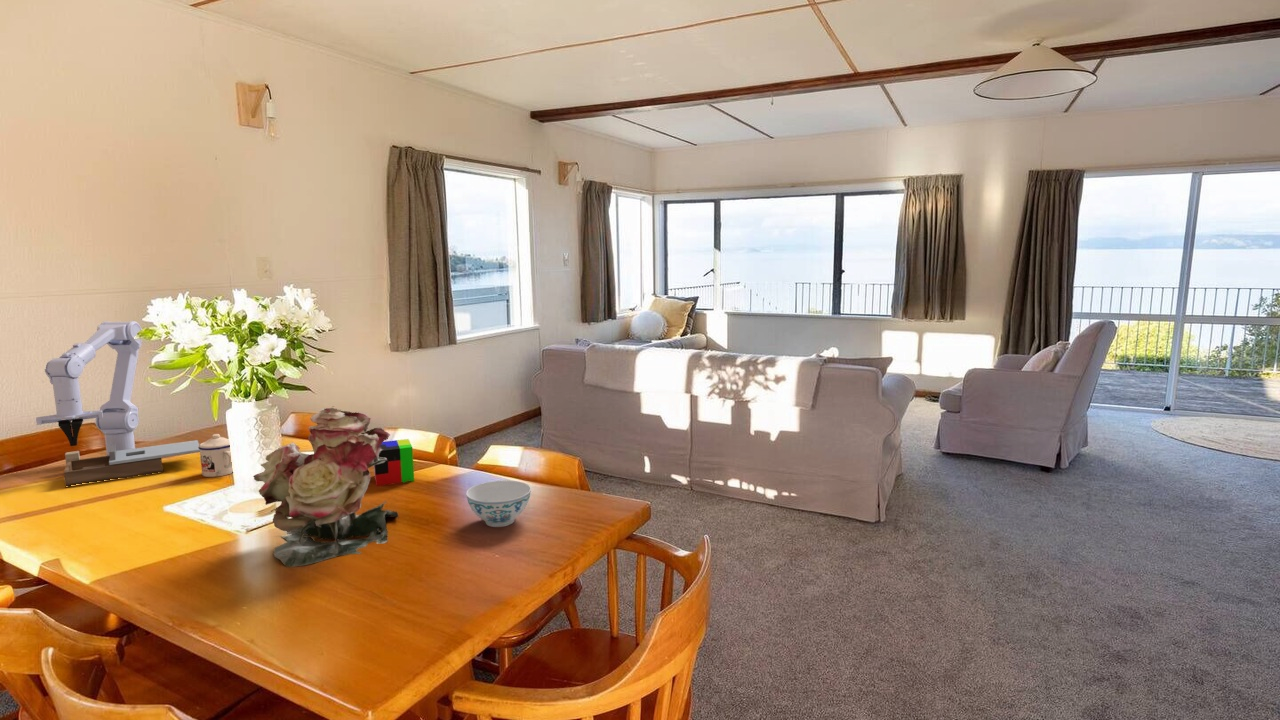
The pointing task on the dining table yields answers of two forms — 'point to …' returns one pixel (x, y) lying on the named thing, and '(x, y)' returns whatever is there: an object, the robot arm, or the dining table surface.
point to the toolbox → (107, 469)
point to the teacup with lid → (215, 457)
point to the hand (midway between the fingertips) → (73, 445)
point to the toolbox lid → (152, 452)
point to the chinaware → (498, 501)
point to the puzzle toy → (395, 463)
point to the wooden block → (72, 456)
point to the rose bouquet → (325, 489)
